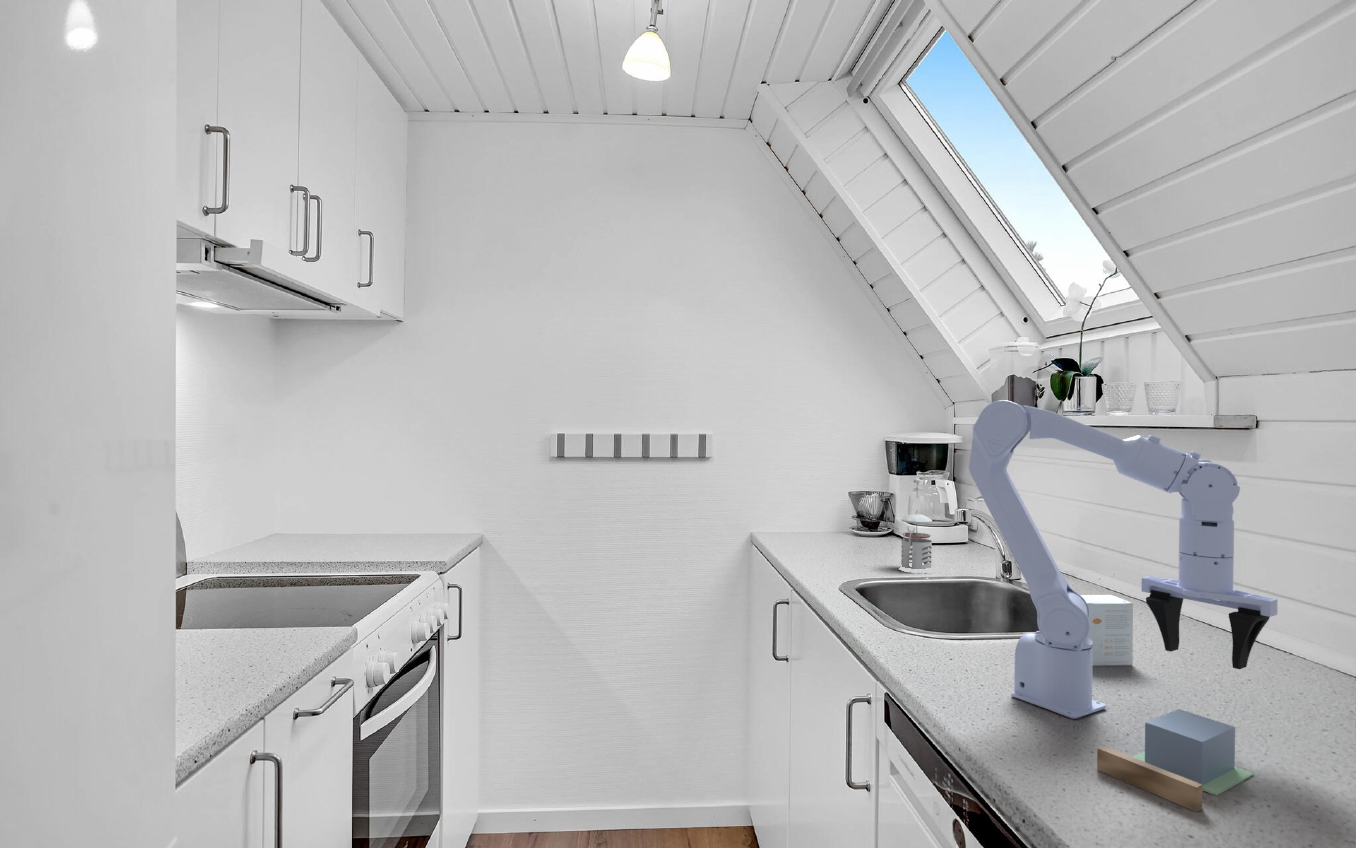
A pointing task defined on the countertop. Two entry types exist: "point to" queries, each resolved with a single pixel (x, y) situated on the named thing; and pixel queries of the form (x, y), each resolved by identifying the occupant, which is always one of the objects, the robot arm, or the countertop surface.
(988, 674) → the countertop surface
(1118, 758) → the wall
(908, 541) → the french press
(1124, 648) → the small box
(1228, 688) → the countertop surface
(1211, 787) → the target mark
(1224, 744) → the grey-blue rectangular brick
